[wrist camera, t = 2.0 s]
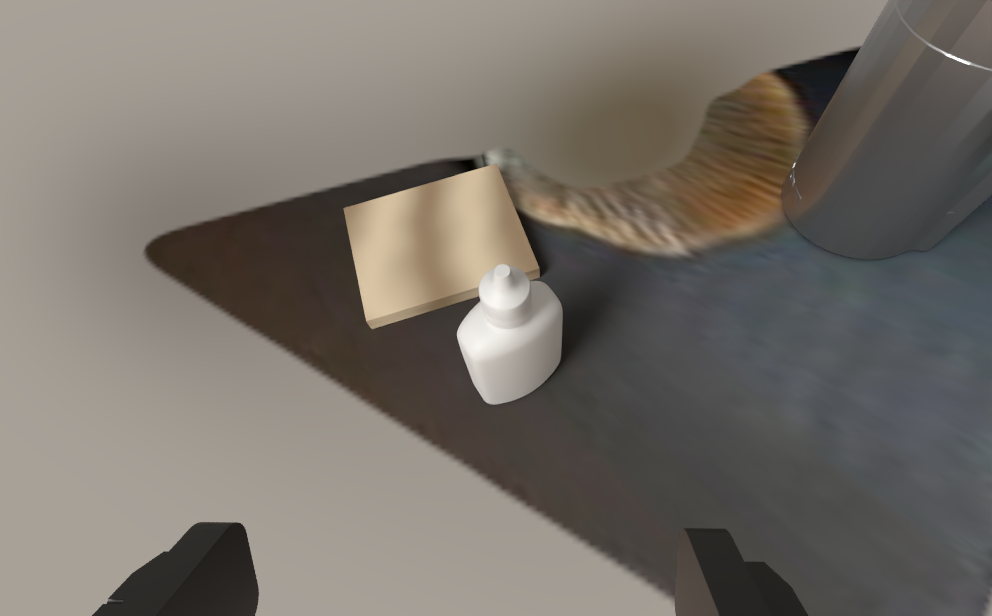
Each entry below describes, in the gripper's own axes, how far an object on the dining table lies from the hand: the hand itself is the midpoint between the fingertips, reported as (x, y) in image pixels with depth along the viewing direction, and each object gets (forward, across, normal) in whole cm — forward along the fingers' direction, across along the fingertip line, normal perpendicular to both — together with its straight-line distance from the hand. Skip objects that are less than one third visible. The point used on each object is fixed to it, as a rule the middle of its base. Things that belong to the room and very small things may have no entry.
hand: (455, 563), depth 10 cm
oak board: (+30, +6, -1) cm, 30 cm away
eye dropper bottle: (+23, 0, +6) cm, 24 cm away
